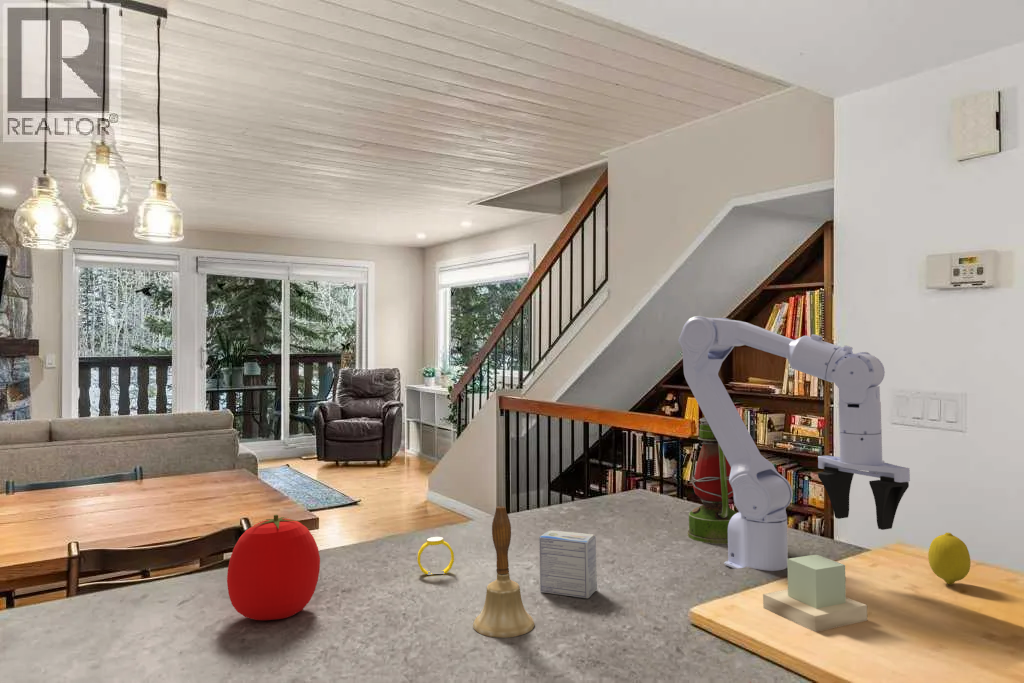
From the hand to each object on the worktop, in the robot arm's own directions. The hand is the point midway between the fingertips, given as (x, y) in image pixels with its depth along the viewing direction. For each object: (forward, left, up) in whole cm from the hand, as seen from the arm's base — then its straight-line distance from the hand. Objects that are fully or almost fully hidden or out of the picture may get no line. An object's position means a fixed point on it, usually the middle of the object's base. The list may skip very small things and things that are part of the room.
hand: (862, 523), depth 104 cm
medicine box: (-19, -40, -11) cm, 46 cm away
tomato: (-28, -82, -11) cm, 87 cm away
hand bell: (-11, -54, -11) cm, 56 cm away
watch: (-36, -56, -11) cm, 68 cm away
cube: (+6, -16, -7) cm, 18 cm away
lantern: (-35, +1, -11) cm, 37 cm away
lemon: (+3, +15, -11) cm, 19 cm away
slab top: (+6, -16, -9) cm, 19 cm away
